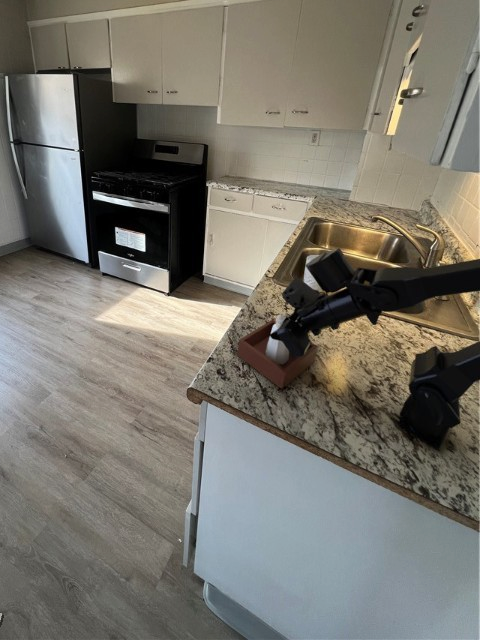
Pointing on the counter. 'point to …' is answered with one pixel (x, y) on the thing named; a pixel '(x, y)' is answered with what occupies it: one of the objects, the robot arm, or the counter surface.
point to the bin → (254, 355)
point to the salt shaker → (277, 345)
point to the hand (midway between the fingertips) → (274, 331)
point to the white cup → (309, 278)
